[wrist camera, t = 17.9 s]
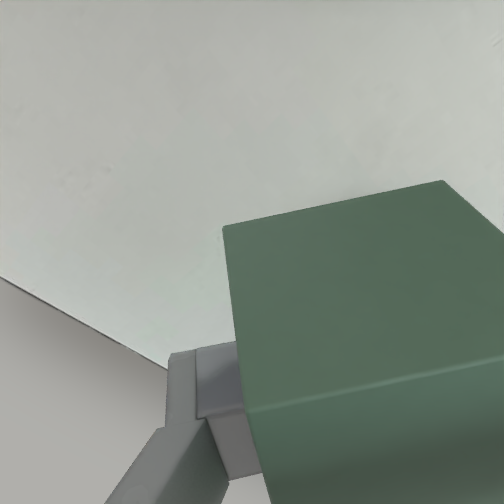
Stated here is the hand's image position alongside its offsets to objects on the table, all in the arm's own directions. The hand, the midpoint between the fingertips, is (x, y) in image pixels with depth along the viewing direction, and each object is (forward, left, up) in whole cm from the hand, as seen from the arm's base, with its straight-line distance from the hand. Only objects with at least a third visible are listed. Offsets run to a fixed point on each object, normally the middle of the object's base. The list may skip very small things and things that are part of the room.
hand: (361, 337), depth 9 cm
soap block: (0, 0, -2) cm, 2 cm away
